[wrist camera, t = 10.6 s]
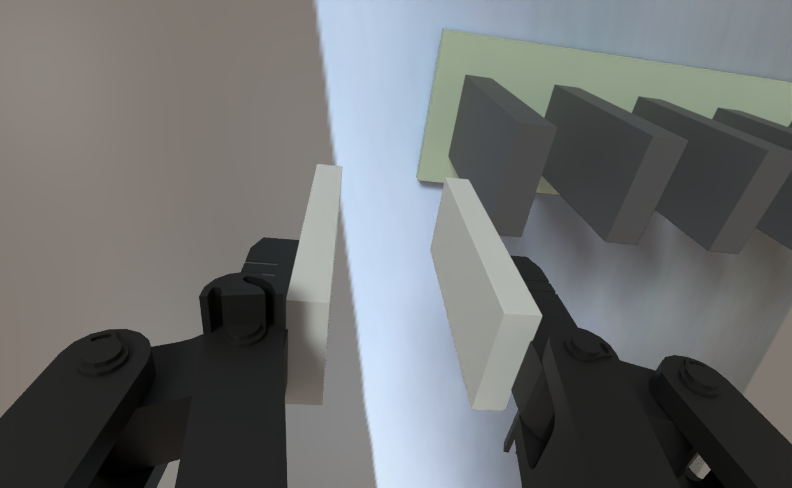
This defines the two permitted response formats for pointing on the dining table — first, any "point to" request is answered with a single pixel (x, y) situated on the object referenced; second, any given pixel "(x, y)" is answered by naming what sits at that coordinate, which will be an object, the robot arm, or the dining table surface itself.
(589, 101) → the domino
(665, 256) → the dining table surface
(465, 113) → the domino
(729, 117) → the domino
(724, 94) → the strip
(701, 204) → the domino
